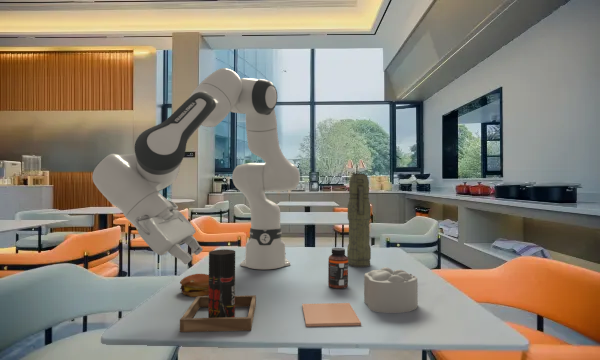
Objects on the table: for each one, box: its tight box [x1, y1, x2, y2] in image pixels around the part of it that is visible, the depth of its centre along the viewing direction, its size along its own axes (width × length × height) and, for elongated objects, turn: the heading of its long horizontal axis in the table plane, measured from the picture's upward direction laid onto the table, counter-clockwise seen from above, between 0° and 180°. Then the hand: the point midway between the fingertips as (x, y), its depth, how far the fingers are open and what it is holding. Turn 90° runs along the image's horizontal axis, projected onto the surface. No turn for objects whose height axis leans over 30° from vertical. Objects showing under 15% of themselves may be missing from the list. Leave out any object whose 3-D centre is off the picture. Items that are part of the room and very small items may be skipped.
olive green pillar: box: [346, 173, 372, 268], centre depth 128 cm, size 9×12×35 cm
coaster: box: [302, 302, 362, 328], centre depth 78 cm, size 12×12×1 cm
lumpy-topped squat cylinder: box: [363, 266, 419, 314], centre depth 85 cm, size 10×13×9 cm
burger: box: [179, 273, 209, 298], centre depth 94 cm, size 10×9×5 cm
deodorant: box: [207, 249, 236, 318], centre depth 76 cm, size 6×6×15 cm
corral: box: [179, 294, 257, 333], centre depth 76 cm, size 15×15×2 cm
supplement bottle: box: [327, 247, 349, 290], centre depth 100 cm, size 6×6×11 cm
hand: (195, 256), depth 76 cm, fingers open, 8 cm apart
